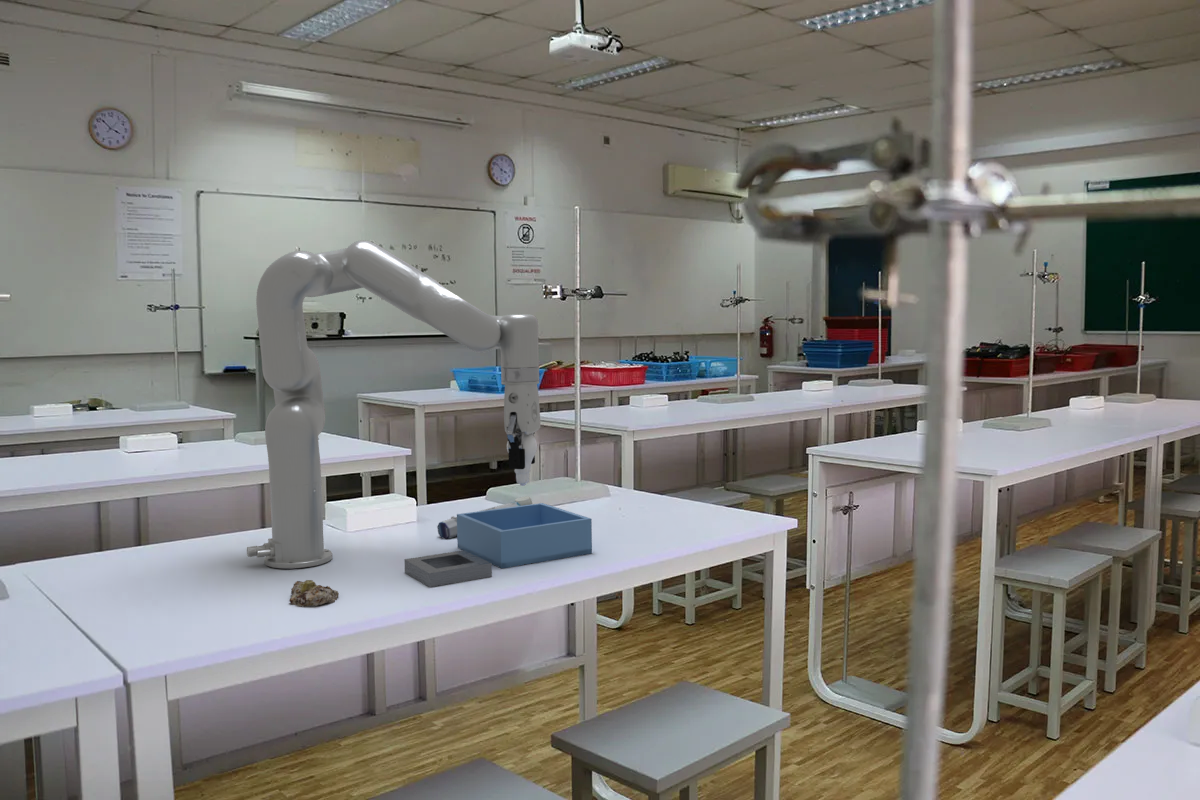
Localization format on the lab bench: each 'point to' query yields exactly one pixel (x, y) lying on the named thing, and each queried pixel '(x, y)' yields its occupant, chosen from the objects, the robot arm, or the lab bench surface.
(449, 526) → the flashlight
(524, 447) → the lightbulb
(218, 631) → the lab bench surface
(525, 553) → the bin
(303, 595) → the mineral rock
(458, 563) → the socket block
